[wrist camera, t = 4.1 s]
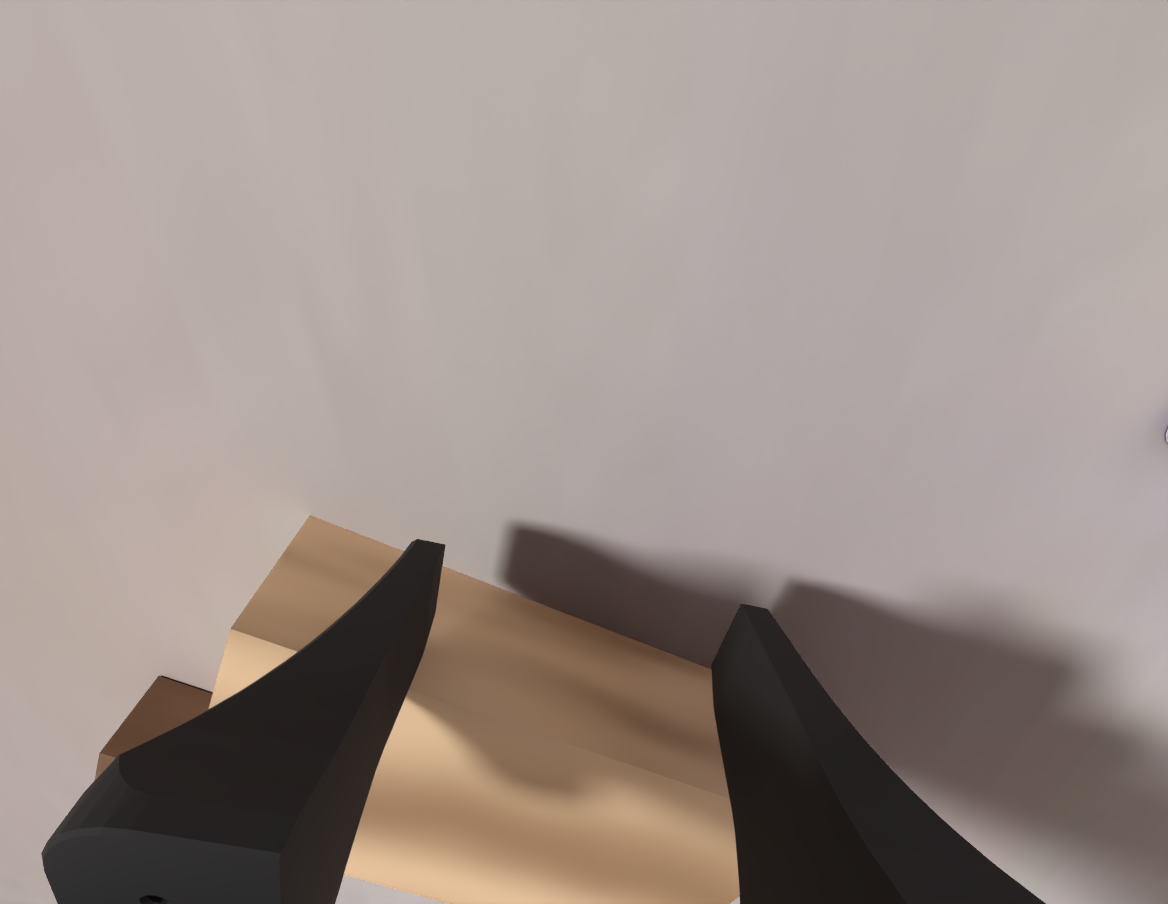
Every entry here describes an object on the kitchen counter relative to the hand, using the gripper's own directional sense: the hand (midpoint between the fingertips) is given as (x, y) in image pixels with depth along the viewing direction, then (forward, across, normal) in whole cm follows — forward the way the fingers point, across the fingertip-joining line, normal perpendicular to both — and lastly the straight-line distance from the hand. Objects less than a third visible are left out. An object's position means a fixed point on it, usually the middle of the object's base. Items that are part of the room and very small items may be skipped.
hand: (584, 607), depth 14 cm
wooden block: (+2, +1, +6) cm, 7 cm away
